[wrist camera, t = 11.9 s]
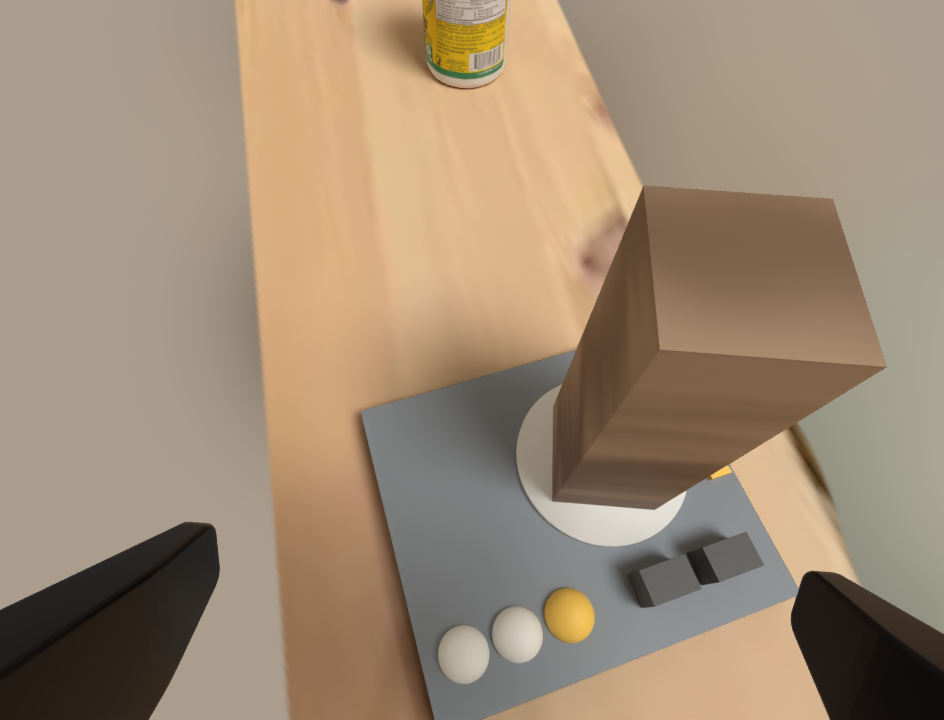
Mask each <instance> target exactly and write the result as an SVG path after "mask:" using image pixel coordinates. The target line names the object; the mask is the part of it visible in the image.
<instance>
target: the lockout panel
mask: <svg viewBox="0 0 944 720" xmlns="http://www.w3.org/2000/svg"><path fill="white" fill-rule="evenodd" d="M575 352H576V350H575V351H571V352H568V353H564V354H561V355H557V356H554V357H550V358H547V359H543V360H540V361H536V362H533V363H529V364H526V365H522V366H518V367H515V368H511V369H508V370H504V371H501V372H497V373H494V374H490V375H487V376H483V377H480V378H476V379H473V380H469V381H466V382H462V383H459V384H455V385H452V386H448V387H445V388H441V389H438V390H434V391H430V392H427V393H423V394H420V395H416V396H413V397H409V398H406V399H402V400H399V401H395V402H392V403H388V404H385V405H381V406H378V407H374V408H371V409H367V410H364V411H361V415H362V419H363V424H364V428H365V432H366V436H367V440H368V444H369V449H370V453H371V457H372V461H373V465H374V469H375V474H376V478H377V482H378V486H379V490H380V494H381V499H382V503H383V507H384V511H385V515H386V519H387V524H388V528H389V532H390V536H391V540H392V544H393V549H394V553H395V557H396V561H397V565H398V570H399V574H400V578H401V582H402V586H403V590H404V595H405V599H406V603H407V607H408V611H409V615H410V620H411V624H412V628H413V632H414V636H415V640H416V645H417V649H418V653H419V657H420V661H421V665H422V670H423V674H424V678H425V682H426V686H427V690H428V695H429V699H430V703H431V707H432V711H433V715H434V720H481V719H484V718H487V717H489V716H492V715H494V714H497V713H499V712H502V711H504V710H507V709H510V708H512V707H515V706H517V705H520V704H522V703H525V702H527V701H530V700H533V699H535V698H538V697H540V696H543V695H545V694H548V693H550V692H553V691H556V690H558V689H561V688H563V687H566V686H568V685H571V684H573V683H576V682H579V681H581V680H584V679H586V678H589V677H591V676H594V675H596V674H599V673H602V672H604V671H607V670H609V669H612V668H614V667H617V666H619V665H622V664H625V663H627V662H630V661H632V660H635V659H637V658H640V657H642V656H645V655H648V654H650V653H653V652H655V651H658V650H660V649H663V648H665V647H668V646H671V645H673V644H676V643H678V642H681V641H683V640H686V639H688V638H691V637H694V636H696V635H699V634H701V633H704V632H706V631H709V630H711V629H714V628H717V627H719V626H722V625H724V624H727V623H729V622H732V621H734V620H737V619H740V618H742V617H745V616H747V615H750V614H752V613H755V612H757V611H760V610H763V609H765V608H768V607H770V606H773V605H775V604H778V603H780V602H783V601H786V600H788V599H791V598H793V597H796V596H797V593H798V590H799V588H798V587H797V585H796V583H795V581H794V579H793V578H792V576H791V574H790V572H789V570H788V569H787V567H786V565H785V563H784V561H783V560H782V558H781V556H780V554H779V552H778V551H777V549H776V547H775V545H774V543H773V542H772V540H771V538H770V536H769V534H768V533H767V531H766V529H765V527H764V525H763V524H762V522H761V520H760V518H759V516H758V515H757V513H756V511H755V509H754V507H753V506H752V504H751V502H750V500H749V498H748V497H747V495H746V493H745V491H744V489H743V488H742V486H741V484H740V482H739V480H738V479H737V477H736V475H735V473H734V471H733V470H732V468H731V466H730V464H729V465H727V466H725V467H724V468H722V469H720V470H719V471H717V472H716V473H714V474H712V475H711V476H709V477H707V478H706V479H704V480H703V481H701V482H699V483H698V484H696V485H694V486H693V487H691V488H690V489H688V490H686V491H685V492H683V493H681V494H680V495H678V496H677V497H675V498H673V499H672V500H670V501H669V502H667V503H665V504H664V505H662V506H660V507H659V508H657V509H656V510H648V509H636V508H624V507H612V506H600V505H588V504H576V503H564V502H552V460H553V406H554V403H555V401H556V398H557V396H558V393H559V391H560V388H561V386H562V384H563V381H564V379H565V376H566V374H567V371H568V369H569V366H570V364H571V362H572V359H573V357H574V354H575Z"/></svg>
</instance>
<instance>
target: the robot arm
mask: <svg viewBox="0 0 944 720" xmlns="http://www.w3.org/2000/svg"><path fill="white" fill-rule="evenodd" d="M219 571H220V565H219V555H218V546H217V537H216V530H215V528H214V526H213V525H211V524H209V523H198V522H197V523H196V522H184V523H182V524H180V525H178V526H176V527H173V528H171V529H169V530H167V531H165V532H163V533H161V534H159V535H156V536H154V537H152V538H150V539H148V540H146V541H144V542H142V543H140V544H138V545H135V546H133V547H131V548H129V549H127V550H125V551H123V552H121V553H119V554H117V555H115V556H112V557H110V558H108V559H106V560H104V561H102V562H100V563H98V564H96V565H93V566H91V567H89V568H87V569H85V570H83V571H81V572H79V573H77V574H75V575H73V576H70V577H68V578H66V579H64V580H62V581H60V582H58V583H56V584H54V585H51V586H49V587H47V588H45V589H43V590H41V591H39V592H37V593H35V594H33V595H31V596H28V597H26V598H24V599H22V600H20V601H18V602H16V603H14V604H12V605H9V606H7V607H5V608H3V609H1V610H0V720H149V718H150V716H151V715H152V713H153V711H154V710H155V708H156V706H157V705H158V703H159V701H160V699H161V698H162V696H163V694H164V692H165V690H166V689H167V687H168V685H169V683H170V681H171V679H172V677H173V675H174V673H175V671H176V669H177V667H178V665H179V663H180V661H181V659H182V657H183V655H184V652H185V650H186V648H187V646H188V644H189V642H190V640H191V638H192V635H193V633H194V631H195V629H196V627H197V625H198V622H199V621H200V618H201V616H202V614H203V612H204V610H205V607H206V606H207V604H208V601H209V599H210V597H211V595H212V593H213V591H214V589H215V586H216V584H217V581H218V578H219ZM791 626H792V630H793V633H794V635H795V638H796V640H797V642H798V645H799V647H800V650H801V652H802V654H803V657H804V659H805V662H806V664H807V666H808V669H809V671H810V673H811V676H812V678H813V681H814V683H815V685H816V688H817V690H818V692H819V695H820V697H821V700H822V702H823V704H824V707H825V709H826V711H827V714H828V716H829V719H830V720H944V634H943V633H941V632H939V631H938V630H936V629H934V628H932V627H931V626H929V625H927V624H925V623H924V622H922V621H920V620H918V619H917V618H915V617H913V616H911V615H910V614H908V613H906V612H904V611H902V610H901V609H899V608H897V607H896V606H894V605H892V604H891V603H889V602H887V601H885V600H883V599H882V598H880V597H878V596H877V595H875V594H873V593H871V592H870V591H868V590H866V589H864V588H863V587H861V586H859V585H857V584H856V583H854V582H852V581H851V580H849V579H847V578H845V577H844V576H842V575H840V574H837V573H833V572H820V571H809V572H807V573H806V574H805V575H804V576H803V578H802V580H801V583H800V587H799V590H798V593H797V596H796V600H795V603H794V606H793V609H792V613H791Z"/></svg>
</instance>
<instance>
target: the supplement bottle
mask: <svg viewBox="0 0 944 720" xmlns="http://www.w3.org/2000/svg"><path fill="white" fill-rule="evenodd" d="M422 1H423V18H424V33H425V51H426V61H427V65H428V67H429V69H430V71H431V72H432V74H433V75H434V76H435V77H436V78H437V79H438V80H440V81H441V82H443V83H445V84H447V85H450V86H454V87H458V88H475V87H480V86H484V85H486V84H489V83H491V82H492V81H494V80H495V79H496V78H497V77H498V76H499V75H500V74H501V73H502V71H503V69H504V66H505V62H506V51H507V37H508V25H509V11H510V0H422Z"/></svg>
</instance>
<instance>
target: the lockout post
mask: <svg viewBox="0 0 944 720" xmlns="http://www.w3.org/2000/svg"><path fill="white" fill-rule="evenodd" d="M886 367H887V366H886V363H885V360H884V357H883V354H882V351H881V347H880V344H879V341H878V338H877V335H876V332H875V329H874V326H873V322H872V320H871V316H870V313H869V310H868V307H867V304H866V301H865V298H864V295H863V291H862V288H861V285H860V282H859V279H858V276H857V273H856V270H855V267H854V263H853V261H852V257H851V254H850V251H849V248H848V245H847V242H846V239H845V236H844V233H843V229H842V226H841V223H840V220H839V217H838V214H837V211H836V207H835V204H834V201H833V199H826V198H812V197H798V196H783V195H769V194H755V193H741V192H727V191H712V190H698V189H684V188H670V187H655V186H643V188H642V191H641V193H640V196H639V198H638V201H637V203H636V206H635V208H634V210H633V213H632V215H631V218H630V220H629V223H628V225H627V227H626V230H625V232H624V235H623V237H622V240H621V242H620V245H619V247H618V249H617V252H616V254H615V257H614V259H613V262H612V264H611V266H610V269H609V271H608V274H607V276H606V279H605V281H604V284H603V286H602V288H601V291H600V293H599V296H598V298H597V301H596V303H595V306H594V308H593V310H592V313H591V315H590V318H589V320H588V323H587V325H586V327H585V330H584V332H583V335H582V337H581V340H580V342H579V345H578V347H577V349H576V352H575V354H574V357H573V359H572V362H571V364H570V366H569V369H568V371H567V374H566V376H565V379H564V381H563V384H562V386H561V388H560V391H559V393H558V396H557V398H556V401H555V403H554V406H553V460H552V502H564V503H576V504H588V505H600V506H612V507H624V508H636V509H648V510H656V509H657V508H659V507H660V506H662V505H664V504H665V503H667V502H669V501H670V500H672V499H673V498H675V497H677V496H678V495H680V494H681V493H683V492H685V491H686V490H688V489H690V488H691V487H693V486H694V485H696V484H698V483H699V482H701V481H703V480H704V479H706V478H707V477H709V476H711V475H712V474H714V473H716V472H717V471H719V470H720V469H722V468H724V467H725V466H727V465H729V464H730V463H732V462H733V461H735V460H737V459H738V458H740V457H742V456H743V455H745V454H746V453H748V452H750V451H751V450H753V449H755V448H756V447H758V446H759V445H761V444H763V443H764V442H766V441H767V440H769V439H771V438H772V437H774V436H776V435H777V434H779V433H780V432H782V431H784V430H785V429H787V428H789V427H790V426H792V425H793V424H795V423H797V422H798V421H800V420H802V419H803V418H805V417H806V416H808V415H810V414H811V413H813V412H814V411H816V410H818V409H819V408H821V407H823V406H824V405H826V404H828V403H829V402H831V401H832V400H834V399H835V398H837V397H839V396H840V395H842V394H844V393H845V392H847V391H848V390H850V389H852V388H854V387H855V386H857V385H858V384H860V383H862V382H863V381H865V380H866V379H868V378H870V377H871V376H873V375H875V374H876V373H878V372H879V371H881V370H883V369H884V368H886Z"/></svg>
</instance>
